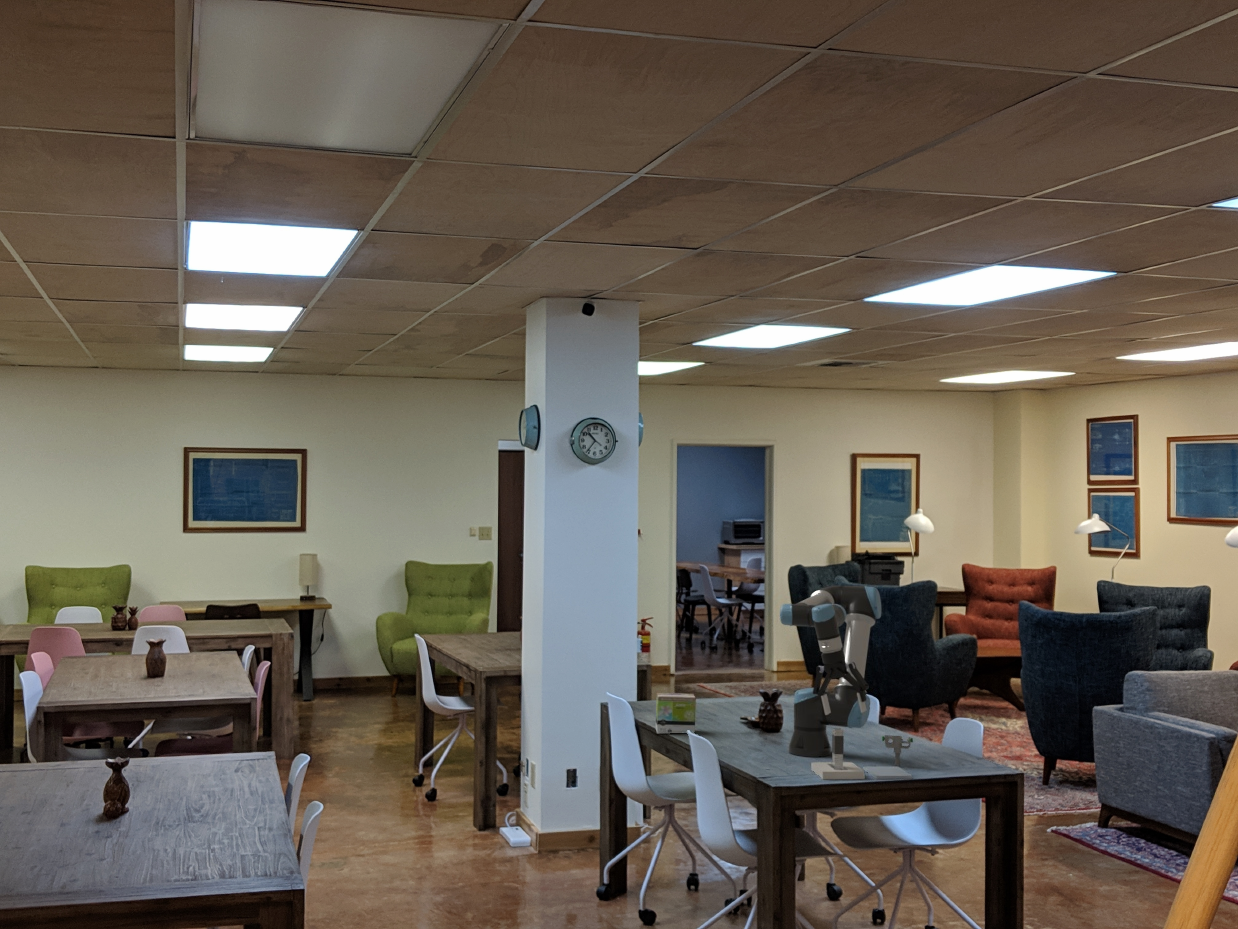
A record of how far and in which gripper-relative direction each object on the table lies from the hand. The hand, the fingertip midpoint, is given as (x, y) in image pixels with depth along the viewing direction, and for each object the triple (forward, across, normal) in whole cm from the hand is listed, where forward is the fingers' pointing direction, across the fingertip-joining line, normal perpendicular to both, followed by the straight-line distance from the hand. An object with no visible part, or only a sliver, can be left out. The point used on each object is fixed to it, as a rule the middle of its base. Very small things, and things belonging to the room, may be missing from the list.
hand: (845, 712), depth 388 cm
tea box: (+8, -87, +18) cm, 89 cm away
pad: (+22, +8, +4) cm, 24 cm away
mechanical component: (+24, +4, +19) cm, 31 cm away
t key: (+19, -4, -7) cm, 20 cm away
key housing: (+19, -4, -7) cm, 20 cm away
